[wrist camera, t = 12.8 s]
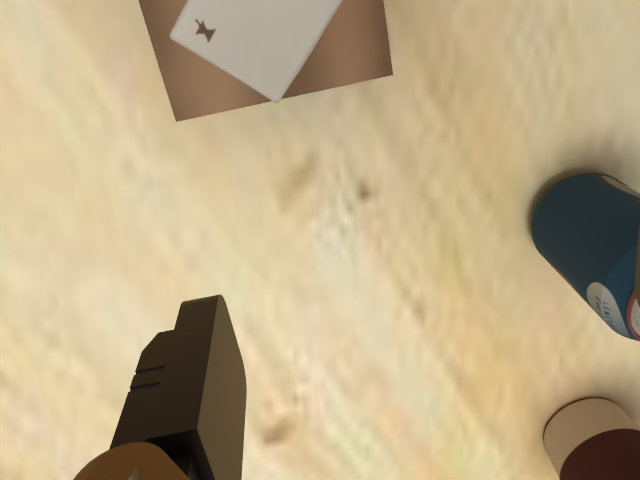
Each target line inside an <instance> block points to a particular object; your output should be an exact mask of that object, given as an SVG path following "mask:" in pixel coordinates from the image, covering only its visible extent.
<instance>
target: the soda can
mask: <svg viewBox="0 0 640 480" xmlns="http://www.w3.org/2000/svg"><path fill="white" fill-rule="evenodd" d="M639 225H640V194H639V193H637V192H636V191H634V190H633V189H631V188H629V187H628V186H626V185H625V184H623V183H622V182H620V181H618V180H617V179H615V178H613V177H611V176H609V175H605V174H600V173H585V174H580V175H576V176H573V177H570V178H567V179H565V180H563V181H560V182H559V183H557V184H555V185H554V186H553V187H551V188H550V189H549V190H548V191H547V192H546V193H545V194H544V195H543V197H542V198H541V200H540V201H539V203H538V205H537V207H536V210H535V213H534V217H533V222H532V236H533V241H534V244H535V246H536V248H537V250H538V251H539V253H540V254H541V255H542V256H543V257H544V258H545V259H546V260H547V261H548V262H549V263H550V264H551V265H552V267H553V268H554V269H555V270H556V271H557V272H558V273H559V274H560V275H561V276H562V277H563V278H564V279H565V280H566V281H567V282H568V283H569V284H570V286H571V287H572V288H573V289H574V290H575V291H576V292H577V293H578V294H579V295H580V296H581V297H582V298H583V299H584V300H585V301H586V302H587V303H588V304H589V306H590V307H591V308H592V309H593V310H594V311H595V312H596V313H597V314H598V315H599V316H600V317H601V318H602V319H603V320H604V321H605V322H606V323H607V325H608V326H609V327H610V328H611V329H612V330H614V331H615V332H616V333H618V334H620V335H622V336H624V337H627V338H630V339H633V340H637V341H640V307H639V305H638V302H637V299H636V295H635V274H636V260H637V247H638V233H639Z"/></svg>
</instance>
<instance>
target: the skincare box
mask: <svg viewBox="0 0 640 480" xmlns="http://www.w3.org/2000/svg"><path fill="white" fill-rule="evenodd" d="M342 1H343V0H187V2H186V4H185V6H184V7H183V9H182V11H181V13H180V15H179V17H178V19H177V21H176V23H175V25H174V27H173V29H172V31H171V33H170V38H171V39H172V40H173V41H175V42H177V43H178V44H180V45H182V46H183V47H185V48H187V49H188V50H190V51H192V52H193V53H195V54H197V55H198V56H200V57H202V58H203V59H205V60H206V61H208V62H210V63H211V64H213V65H215V66H216V67H218V68H219V69H221V70H223V71H224V72H226V73H228V74H229V75H231V76H233V77H234V78H236V79H237V80H239V81H241V82H242V83H244V84H245V85H247V86H249V87H250V88H252V89H254V90H255V91H257V92H258V93H260V94H262V95H263V96H265V97H266V98H268V99H270V100H271V101H273V102H275V103H276V102H279V101H280V100H281V98H282V96H283V95H284V93H285V92H286V90H287V89H288V87H289V86H290V84H291V83H292V81H293V80H294V78H295V77H296V75H297V74H298V72H299V71H300V69H301V68H302V66H303V65H304V63H305V62H306V60H307V58H308V57H309V55H310V54H311V52H312V51H313V49H314V47H315V45H316V44H317V42H318V40H319V39H320V37H321V35H322V33H323V32H324V30H325V28H326V27H327V25H328V23H329V22H330V20H331V18H332V17H333V15H334V14H335V12H336V10H337V9H338V7H339V6H340V4H341V3H342Z"/></svg>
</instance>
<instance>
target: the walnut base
mask: <svg viewBox="0 0 640 480" xmlns="http://www.w3.org/2000/svg"><path fill="white" fill-rule="evenodd" d="M186 2H187V0H139V3H140V6H141V10H142V13H143V16H144V19H145V23H146V26H147V29H148V32H149V35H150V39H151V42H152V45H153V48H154V52H155V55H156V58H157V61H158V65H159V68H160V71H161V74H162V77H163V81H164V84H165V87H166V90H167V94H168V97H169V100H170V103H171V107H172V110H173V113H174V116H175V119H176V122H177V121H182V120H187V119H191V118H196V117H200V116H205V115H210V114H214V113H219V112H224V111H228V110H233V109H237V108H242V107H247V106H251V105H256V104H261V103H265V102H270V101H271V100H270V99H268V98H266V97H265V96H263V95H262V94H260V93H258V92H257V91H255V90H254V89H252V88H250V87H249V86H247V85H245V84H244V83H242V82H241V81H239V80H237V79H236V78H234V77H233V76H231V75H229V74H228V73H226V72H224V71H223V70H221V69H219V68H218V67H216V66H215V65H213V64H211V63H210V62H208V61H206V60H205V59H203V58H202V57H200V56H198V55H197V54H195V53H193V52H192V51H190V50H188V49H187V48H185V47H183V46H182V45H180V44H178V43H177V42H175V41H173V40H172V39H171V38H170V33H171V31H172V29H173V27H174V25H175V23H176V21H177V19H178V17H179V15H180V13H181V11H182V9H183V7H184V6H185V4H186ZM390 75H393V71H392V64H391V56H390V49H389V41H388V34H387V26H386V19H385V11H384V4H383V0H343V1H342V3H341V4H340V6H339V7H338V9H337V10H336V12H335V14H334V15H333V17H332V18H331V20H330V22H329V23H328V25H327V27H326V28H325V30H324V32H323V33H322V35H321V37H320V39H319V40H318V42H317V44H316V45H315V47H314V49H313V51H312V52H311V54H310V55H309V57H308V58H307V60H306V62H305V63H304V65H303V66H302V68H301V69H300V71H299V72H298V74H297V75H296V77H295V78H294V80H293V81H292V83H291V84H290V86H289V87H288V89H287V90H286V92H285V93H284V95H283V96H282V98H281V99H284V98H288V97H293V96H297V95H302V94H307V93H311V92H316V91H321V90H325V89H330V88H334V87H339V86H344V85H348V84H353V83H358V82H362V81H367V80H371V79H376V78H381V77H385V76H390Z"/></svg>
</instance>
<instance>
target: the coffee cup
mask: <svg viewBox="0 0 640 480" xmlns="http://www.w3.org/2000/svg"><path fill="white" fill-rule="evenodd" d="M544 445H545V449H546V451H547V453H548V455H549V457H550V459H551V461H552V464H553V466H554V468H555V470H556V472H557V474H558V476H559V478H560V480H640V428H639V427H638V425H637V424H636V423H635V422H634V421H633V420H632V419H631V418H630V417H629V416H628V415H627V414H626V413H625V412H624V410H623V409H622V408H621V407H619V406H618V405H617V404H615V403H613V402H611V401H608V400H605V399H598V398H594V399H585V400H580V401H577V402H575V403H572V404H570V405H568V406H566V407H565V408H563V409H562V410H561V411H559V412H558V413H557V414H556V415H555V416H554V417H553V418H552V419H551V421H550V422H549V424H548V425H547V428H546V430H545V434H544Z"/></svg>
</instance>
